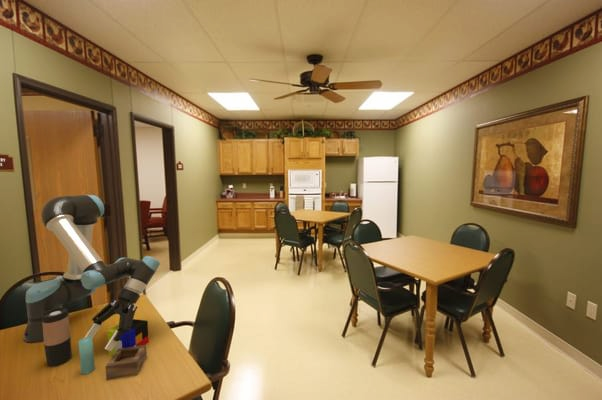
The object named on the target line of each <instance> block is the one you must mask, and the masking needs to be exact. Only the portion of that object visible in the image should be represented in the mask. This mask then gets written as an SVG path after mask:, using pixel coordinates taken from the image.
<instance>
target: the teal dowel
mask: <svg viewBox="0 0 602 400" xmlns="http://www.w3.org/2000/svg"><path fill="white" fill-rule="evenodd" d="M84 337H85V336H84ZM84 337H82V338H81V339H79V341H78V342H77V343H78V350H79V351H78V352H79V363H80V373H81V375H88V374H91V373H93V371H94V370H95V368H96V367H95V366H96V365H95V357H94V356H95V354H94V344H93V343H94V341H93V338H92V337H85V338H84Z"/></svg>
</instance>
